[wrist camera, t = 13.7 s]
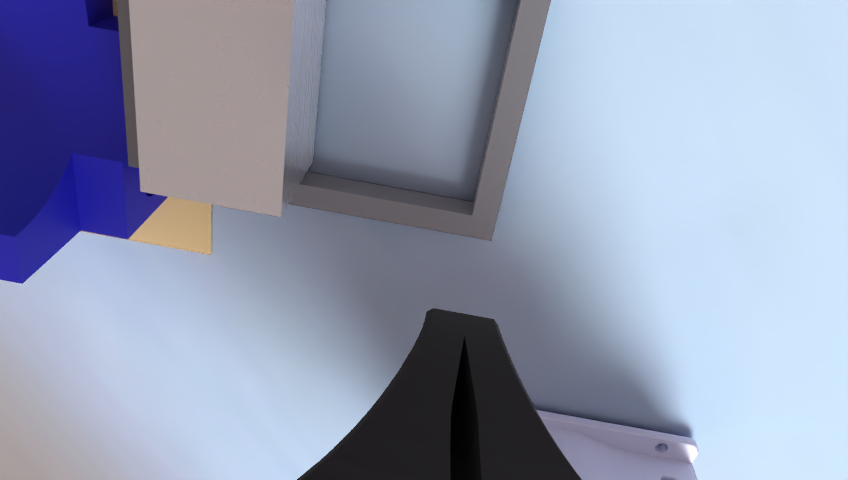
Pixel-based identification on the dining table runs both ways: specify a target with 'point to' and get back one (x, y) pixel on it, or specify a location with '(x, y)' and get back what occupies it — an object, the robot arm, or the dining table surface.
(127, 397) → the dining table surface
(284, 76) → the block
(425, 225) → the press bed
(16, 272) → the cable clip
